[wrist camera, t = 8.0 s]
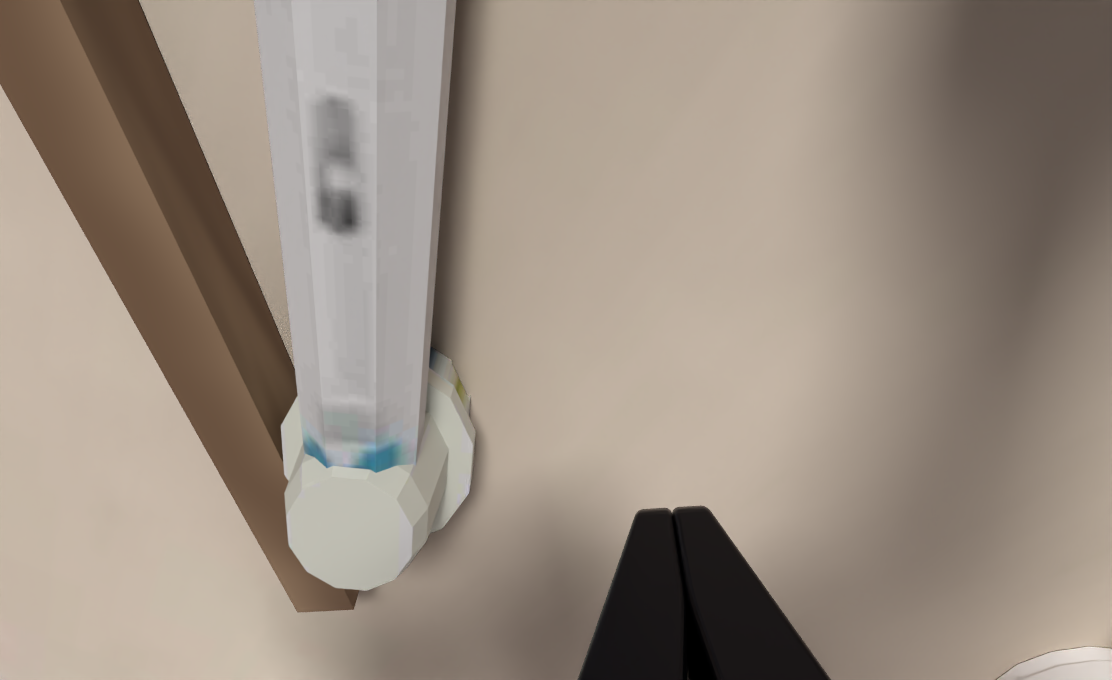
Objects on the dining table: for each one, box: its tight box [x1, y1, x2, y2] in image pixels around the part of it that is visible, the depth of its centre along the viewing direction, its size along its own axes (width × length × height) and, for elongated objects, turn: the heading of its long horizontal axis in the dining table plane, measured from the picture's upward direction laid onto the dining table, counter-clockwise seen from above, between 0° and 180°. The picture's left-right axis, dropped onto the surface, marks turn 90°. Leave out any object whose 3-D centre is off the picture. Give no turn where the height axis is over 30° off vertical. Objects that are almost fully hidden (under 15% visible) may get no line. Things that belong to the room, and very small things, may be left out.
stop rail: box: [0, 0, 359, 612], centre depth 18 cm, size 2×28×2 cm, turn 7°
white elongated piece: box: [254, 0, 476, 591], centre depth 15 cm, size 5×7×25 cm
